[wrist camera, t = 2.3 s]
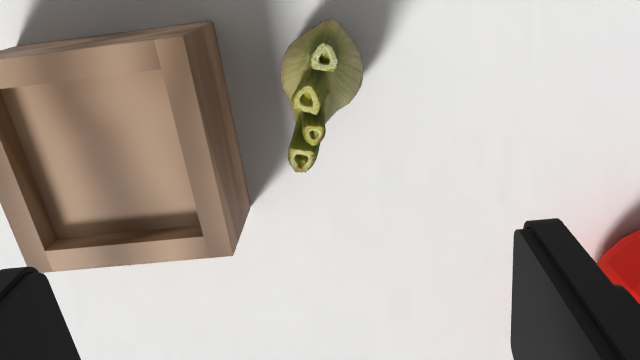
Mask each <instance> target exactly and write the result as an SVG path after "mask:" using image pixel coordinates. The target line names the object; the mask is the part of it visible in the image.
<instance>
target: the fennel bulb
mask: <svg viewBox="0 0 640 360" xmlns="http://www.w3.org/2000/svg"><path fill="white" fill-rule="evenodd" d="M362 80H363V63H362V58H361V54H360V52H359V50H358V48H357V46H356V45H355V43H354V42H353V40H352V39H351V37H350V36H349V35H348V33H347V32H346V31H345V29H344V28H343V27H342V26H341V25H340V23H338V22H337V21H335V20H334V19H327V20H326V21H324V22H321V23H320V24H319V25H317V26H316V27H314V28H312V29H311V30H309V31H307V32H306V33H305V34H303V35H301V36H300V37H299V38H298V39H296V40H295V41H294V42H293V43H292V44H291V45H290V46H289V48H288V50H287V51H286V53H285V55H284V57H283V61H282V65H281V82H282V86H283V90H284V91H285V93H286V94H287V96H288V99H289V101H290V104H291V107H292V110H293V115H294V119H295V121H296V126H295V130H294V134H293V137H292V141H291V143H290V146H289V151H288V160H289V163H290V165H291V166H292V167H293V169H294V171H295V172H306V171H308V170H309V169H310V168H311V167H312V166H313V164H314V162H315V160H316V158H317V155H318V151H319V146H320V142H321V141H322V139H323V138H324V136H325V131H326V130H325V123H326V122H327V121H328V120H329V119H330V118H331V117H332V116H333V114H335V112H336V111H338V110H339V109H341V108H342V107H344V106H346V105H347V104H349V103H350V101H352V100H353V98H354V97H355V96H356V94H357V92H358V90H359V89H360V87H361V84H362Z"/></svg>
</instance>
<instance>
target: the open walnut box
mask: <svg viewBox="0 0 640 360" xmlns="http://www.w3.org/2000/svg"><path fill="white" fill-rule="evenodd" d="M0 203H1V205H2V208H3V210H4V212H5V215H6V217H7V220H8V222H9V224H10V227H11V229H12V231H13V234H14V236H15V239H16V241H17V243H18V246H19V248H20V250H21V253H22V255H23V257H24V260H25V262H26V265H27V267H34V268H36V269H37V270H38V271H39V273H44V272H56V271H67V270H78V269H89V268H101V267H112V266H123V265H135V264H146V263H157V262H168V261H180V260H191V259H202V258H214V257H225V256H233V254H234V251H235V249H236V246H237V243H238V240H239V238H240V235H241V232H242V229H243V227H244V224H245V221H246V218H247V215H248V213H249V210H250V202H249V197H248V192H247V187H246V182H245V177H244V172H243V167H242V162H241V157H240V153H239V148H238V143H237V138H236V133H235V128H234V123H233V118H232V113H231V108H230V103H229V98H228V93H227V88H226V84H225V79H224V74H223V69H222V64H221V59H220V54H219V49H218V44H217V39H216V34H215V29H214V24H213V21H207V22H199V23H192V24H184V25H176V26H169V27H161V28H153V29H146V30H138V31H130V32H123V33H115V34H107V35H99V36H92V37H84V38H76V39H69V40H61V41H53V42H46V43H38V44H30V45H23V46H15V47H12V48H8V49H5V50H1V51H0Z"/></svg>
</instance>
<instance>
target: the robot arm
mask: <svg viewBox="0 0 640 360" xmlns="http://www.w3.org/2000/svg"><path fill="white" fill-rule="evenodd" d="M511 349H512V354H513V358H514V360H640V304H639V303H638V302H637V301H636V299H635V298H634V297H633V296H632V295H631V294H630V292H629V291H628V290H626V289H625V288H624V287H623V286H621V285H618V284H615V285H613V283H612V282H611V281H610V280H609V279H608V277H607V276H606V275H605V274H604V272H603V271H602V270H601V269H600V268H599V266H598V265H597V264H596V263H595V261H594V260H593V259H592V258H591V257H590V255H589V254H588V253H587V252H586V250H585V249H584V248H583V247H582V246H581V244H580V243H579V242H578V241H577V240H576V238H575V237H574V236H573V235H572V233H571V232H570V231H569V230H568V229H567V227H566V226H565V225H564V224H563V222H562V221H561V220H560V219H557V218H555V219H544V220H533V221H526V222H525V224H524V227H523V229H518V230H516V231H515V233H514V247H513V280H512V314H511ZM0 360H81V359H80V356H79V354H78V352H77V349H76V347H75V344H74V342H73V339H72V337H71V335H70V332H69V330H68V327H67V325H66V322H65V320H64V318H63V315H62V313H61V310H60V308H59V305H58V303H57V301H56V298H55V296H54V293H53V291H52V289H51V286H50V284H49V281H48V279H47V277H46V276H45V275H44V274H43V273H39V271H38V270H37V269H36V268H34V267H20V268H9V269H2V270H0Z"/></svg>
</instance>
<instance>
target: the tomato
mask: <svg viewBox="0 0 640 360" xmlns="http://www.w3.org/2000/svg"><path fill="white" fill-rule="evenodd" d="M597 265H598V266H599V268H600V269H601V270H602V271H603V272H604V274H605V275H606V276H607V277H608V279H609V280H610V281H611V282H612V283H613V285H615V284H618V285H621V286H623V287H624V288H625V289H626V290H628V291H629V292H630V294H631V295H632V296H633V297H634V298H635V299H636V301H637V302H638V303H639V304H640V230H638V231H636V232H634V233H632V234H629V235H627V236H625V237H623V238H622V239H621V240H619V241H618V242H617V243H616V244H615V245H614V246H612V247H611V248H610V249H609V250H608V251H607V252H606V253H604V254H603V256H602V257H601V259H600V260H599V262H598V263H597Z"/></svg>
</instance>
